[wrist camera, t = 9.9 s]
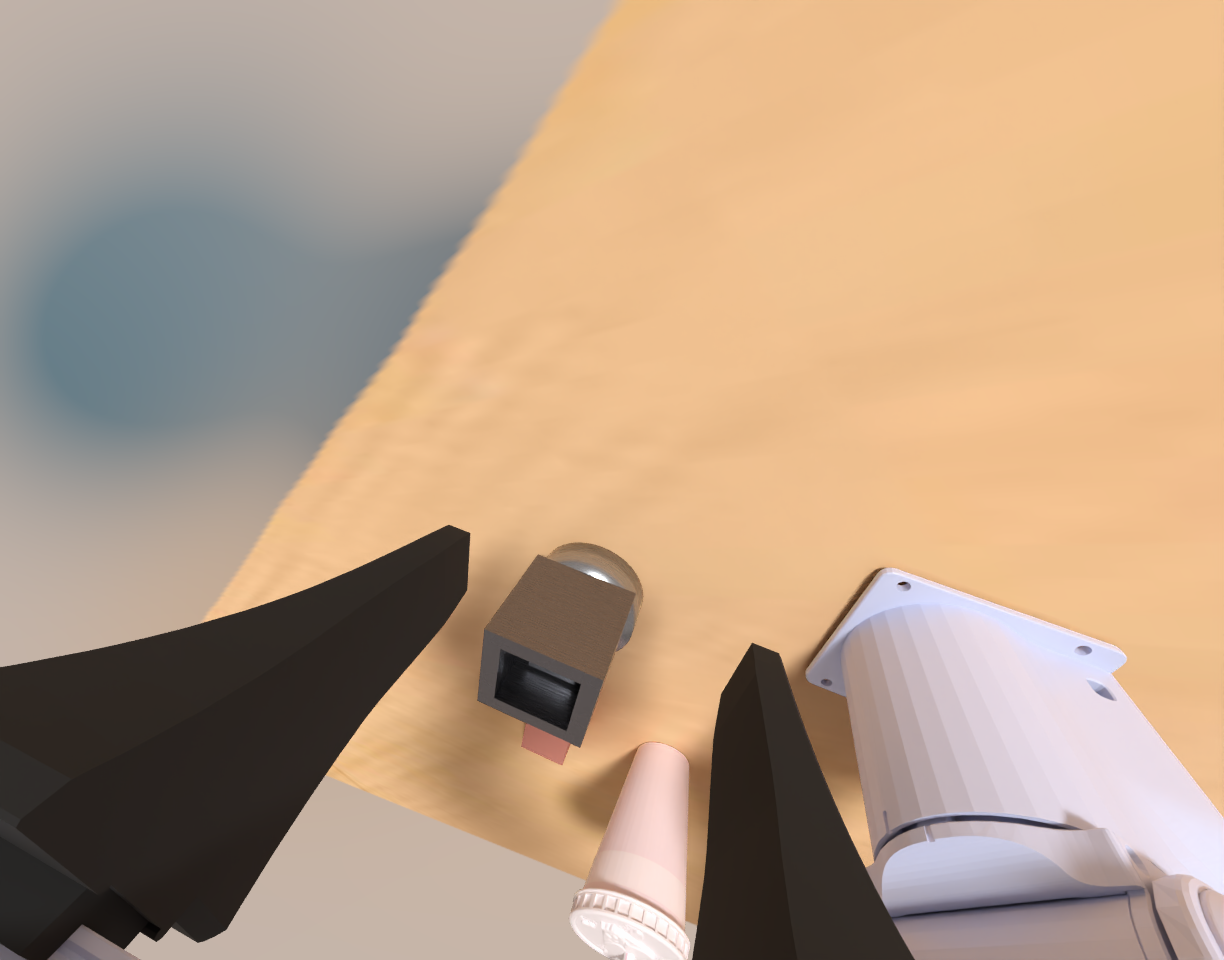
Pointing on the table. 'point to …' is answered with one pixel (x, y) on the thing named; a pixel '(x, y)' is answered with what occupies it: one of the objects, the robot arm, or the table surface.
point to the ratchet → (622, 575)
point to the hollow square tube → (553, 648)
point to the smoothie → (641, 865)
